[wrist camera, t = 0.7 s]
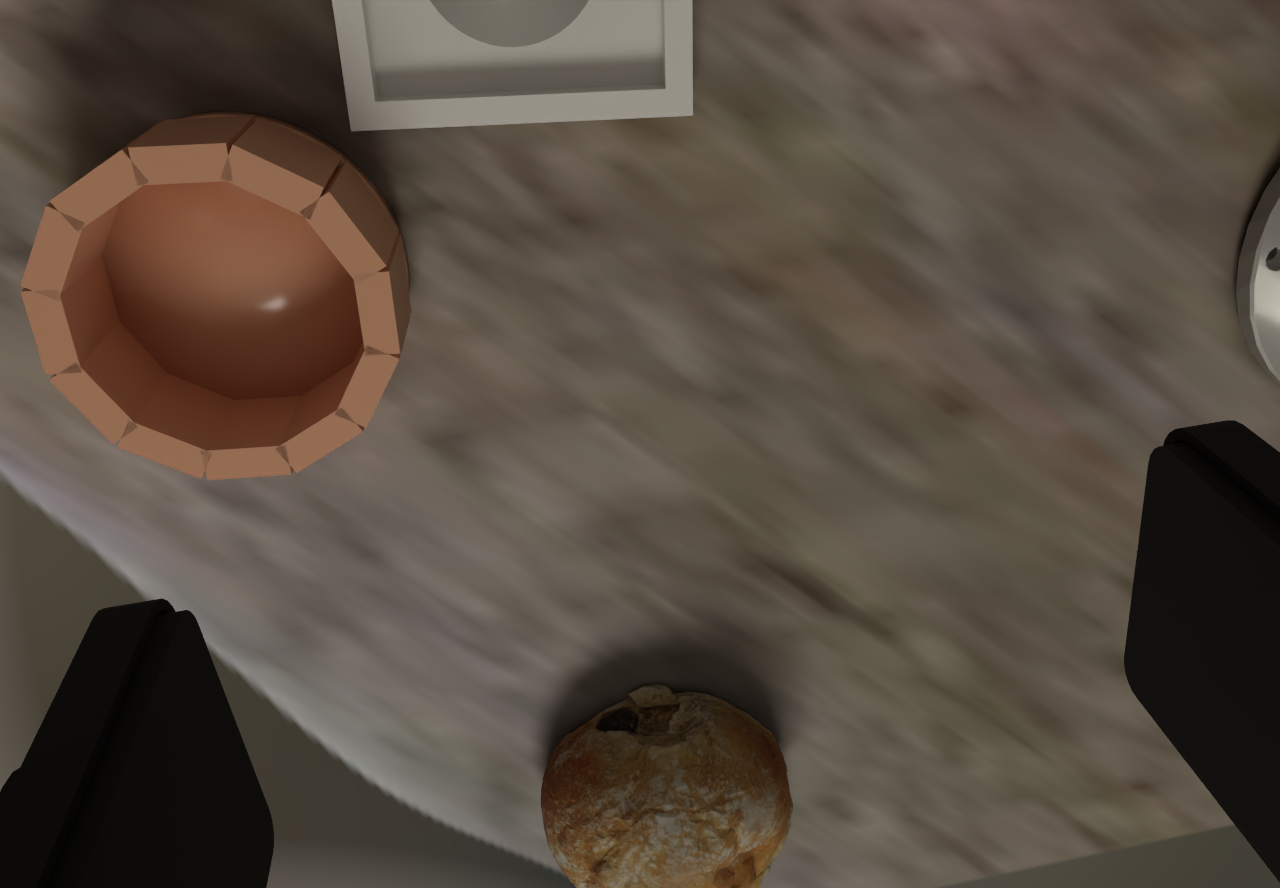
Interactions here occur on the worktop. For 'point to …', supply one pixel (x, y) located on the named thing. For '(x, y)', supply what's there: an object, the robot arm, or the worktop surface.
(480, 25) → the grey cylinder
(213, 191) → the bowl
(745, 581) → the worktop surface
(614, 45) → the parts tray
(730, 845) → the bread roll
